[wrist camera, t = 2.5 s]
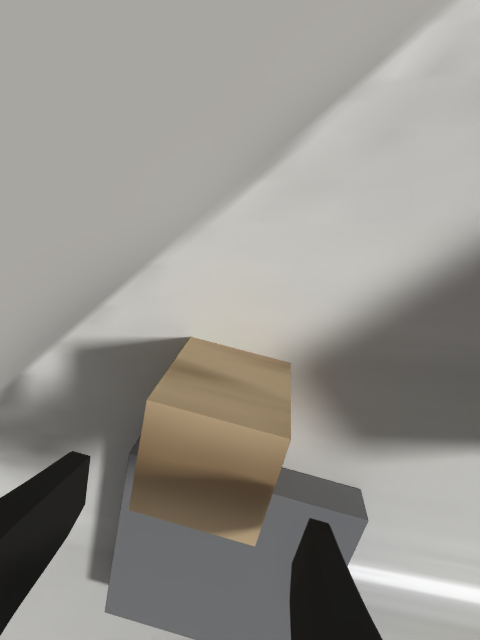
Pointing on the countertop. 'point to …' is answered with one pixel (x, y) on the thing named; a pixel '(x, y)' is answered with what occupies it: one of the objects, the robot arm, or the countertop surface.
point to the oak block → (214, 441)
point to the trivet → (224, 563)
